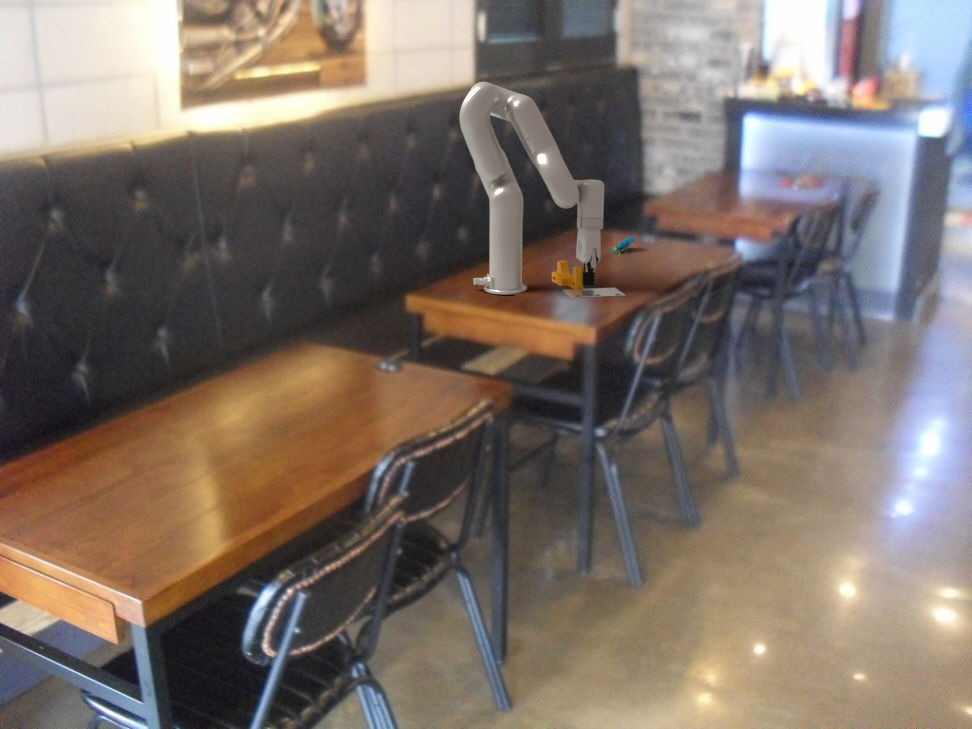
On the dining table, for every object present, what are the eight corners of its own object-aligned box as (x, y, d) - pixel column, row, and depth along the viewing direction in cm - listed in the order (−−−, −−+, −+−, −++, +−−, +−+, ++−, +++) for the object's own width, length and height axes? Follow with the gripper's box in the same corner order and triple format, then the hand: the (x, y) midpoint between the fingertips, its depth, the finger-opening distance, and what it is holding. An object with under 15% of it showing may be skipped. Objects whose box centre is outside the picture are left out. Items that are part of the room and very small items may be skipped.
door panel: (571, 297, 298) (571, 296, 298) (562, 290, 308) (562, 289, 308) (625, 295, 301) (625, 294, 301) (614, 288, 311) (614, 287, 311)
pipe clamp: (551, 282, 319) (552, 261, 317) (564, 281, 321) (564, 260, 319) (570, 290, 309) (570, 268, 307) (583, 289, 310) (583, 267, 308)
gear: (618, 251, 362) (636, 232, 356) (628, 264, 361) (647, 246, 355) (601, 256, 354) (620, 237, 347) (612, 270, 352) (631, 250, 346)
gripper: (570, 219, 311) (569, 280, 316) (584, 227, 297) (583, 291, 302) (595, 218, 312) (593, 279, 317) (610, 226, 298) (608, 289, 303)
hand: (588, 284), depth 310 cm, fingers closed
